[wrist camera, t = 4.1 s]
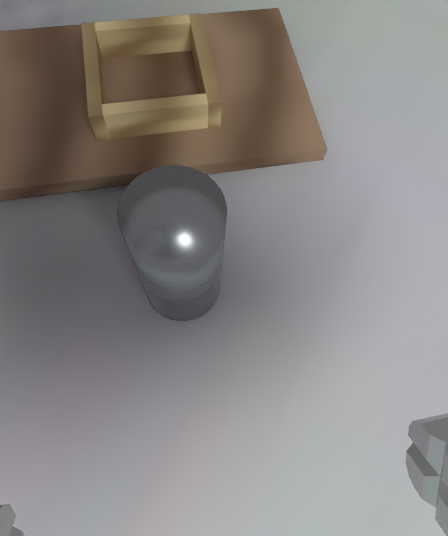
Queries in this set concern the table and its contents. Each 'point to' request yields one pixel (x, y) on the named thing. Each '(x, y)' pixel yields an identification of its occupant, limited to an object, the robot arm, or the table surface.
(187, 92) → the collar board
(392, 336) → the table surface
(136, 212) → the cylinder
